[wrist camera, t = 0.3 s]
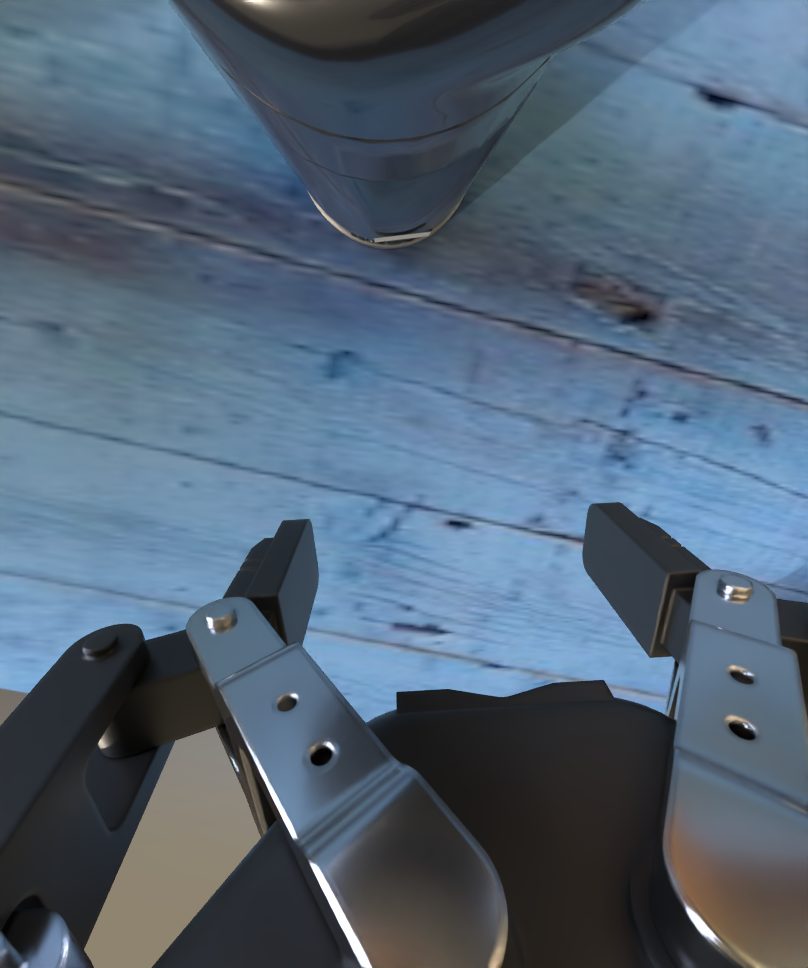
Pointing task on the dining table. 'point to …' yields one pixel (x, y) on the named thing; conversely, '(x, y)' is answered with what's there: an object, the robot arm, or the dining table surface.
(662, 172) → the dining table surface
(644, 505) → the dining table surface
